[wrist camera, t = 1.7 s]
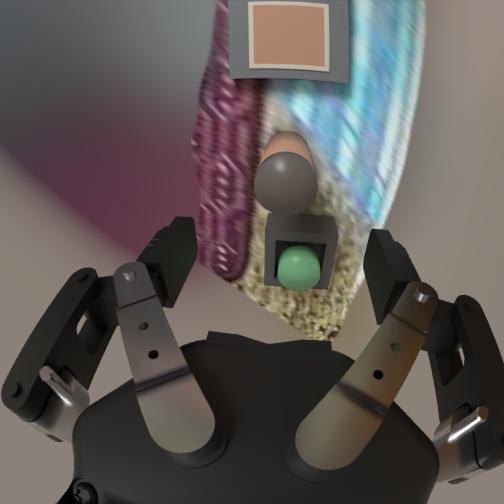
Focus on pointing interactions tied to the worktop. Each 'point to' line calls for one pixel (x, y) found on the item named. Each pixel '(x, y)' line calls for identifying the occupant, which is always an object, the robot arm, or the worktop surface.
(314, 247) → the button housing
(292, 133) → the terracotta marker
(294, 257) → the button
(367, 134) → the worktop surface
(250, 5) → the picture board
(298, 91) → the worktop surface
